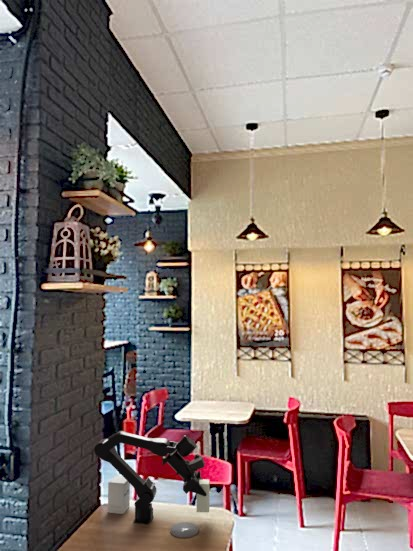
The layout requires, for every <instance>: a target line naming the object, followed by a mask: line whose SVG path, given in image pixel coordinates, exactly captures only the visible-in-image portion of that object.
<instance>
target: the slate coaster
mask: <svg viewBox="0 0 413 551" xmlns="http://www.w3.org/2000/svg"><path fill="white" fill-rule="evenodd" d="M169 529H170V534H171V535H172V536H174V537H177V538H181V539H182V538H184V539H185V538H192V537H194V536H197V534H198V533H199V530H200V529H199V526H198V525H197V524H195V523H193V522H190V521H189V522H188V521H183V522H177V523H175V524H173V525H172V526H171V527H170V528H169Z"/></svg>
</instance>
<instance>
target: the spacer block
mask: <svg viewBox="0 0 413 551" xmlns="http://www.w3.org/2000/svg"><path fill="white" fill-rule="evenodd" d="M199 484H200V485H201V487H202V488H203V489H204V491H205V492H206V494H207V495H206V496H202V495H199V494H197V493H195V494H196V496H195V497H196V513H210V504H211V503H210V502H211V501H210V478H209V479H208V478H207V479H206V478H205V479H204V478H202V479H199Z"/></svg>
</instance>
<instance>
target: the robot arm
mask: <svg viewBox="0 0 413 551" xmlns="http://www.w3.org/2000/svg"><path fill="white" fill-rule="evenodd" d="M119 444H124V445H128V446H132V447H136V448H140V449H144V450H147V451H149V452H150V453H152V454H153V455H156V456H158V457H162V458H161V460H162V464H161V465H162V466H165V465H166V463H167V464H168V465H169V466H170V467H171V468H172V469H173V470H174V471H175V474H176V476H180V477H181V478H182V482H183V486H182V491H183V492H184V493H185V494H186V495H187V494H188V493H189V492H190V493H195V494H196V493H197V494H199V495H202V496H206V495H207V494H206V492H205V491H204V489H203V488H202V487H201V485H200V484H199V479H203V478H202V476H201V474H202V471H201V470H200V469H203V468H205V466H206V462H205V460H204V457H203V456H202V455H200V454H198V453H197V454H195V455H194V457H193V459H192V460H191V461H190V460H188V459H185V457H186V458H188V457H189V456H190V455H191V454H192V453H193V452H194V451H195V449H196V448H197V447H198V446H197V443H196V442H195V441H194V440H193V439H192V438H190V437H189V436H187V435H185V434H184V435H183V436H182V438H181V439H180V440H179V441H178V442H177V441H173V440H172V441H171V440H169V439H168V438H163V437H154V438H152V437H146V436H142V435H139V434H134V433H130V432H127V431H124V430H119V431H118V432H116V433H114V434H113V435H111V436H110V437H108V438H102V439H100V441H99V442H97V444H95V446H94V448H93V449H94V450H93V452H94V455H95V456H97V457H98V458H99V459H101V460H102V461H105V462H106V463H109V464H110V465H111V466H112V467H113V468H114V469H115V470H116V471H117V472H118V473H119V474H120V475H121V477H124V478H125V479H126V480H127V481H128V482H129V483H130V485H131V486H132V487H133V488H134V491H135V494H136V495H137V498H136V500H135V502H134V519H133V523H136V524H137V523H138V524H145V525H148V524H149V523H151V521H152V520H153V519H154V508H153V503H152V502H153V501H154V499H155V496H156V494H157V486H156V483H155V482H153V481H152V480H151V478H150V477H147V478H146V479H145V478H142V477H141V476H140V474H138V473H137V472H136V471H135V470H134V469H133V468H132V467H131V465H129V463H128V462H126V461H125V459H123V458H122V457H121V456H120V455H119V453H118V451H117V449H116V447H117V446H118V445H119Z"/></svg>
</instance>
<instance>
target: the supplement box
mask: <svg viewBox="0 0 413 551" xmlns="http://www.w3.org/2000/svg"><path fill="white" fill-rule="evenodd" d="M107 484H108V485H107V488H108V490H107V495H108V496H107V513H110V514H120V515H124V514H125V513H126V511H127V510H128V509H129V508H130V502H131V500H130V499H131V498H130V495H131V493H130V492H131V488H130V487H131V486H130V485H131V484H130V483H129V482H128V481H127V480H126V479H125V478H124V477H123V476H114V477H112V478H111V480H110V481H109V482H108V483H107Z"/></svg>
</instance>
